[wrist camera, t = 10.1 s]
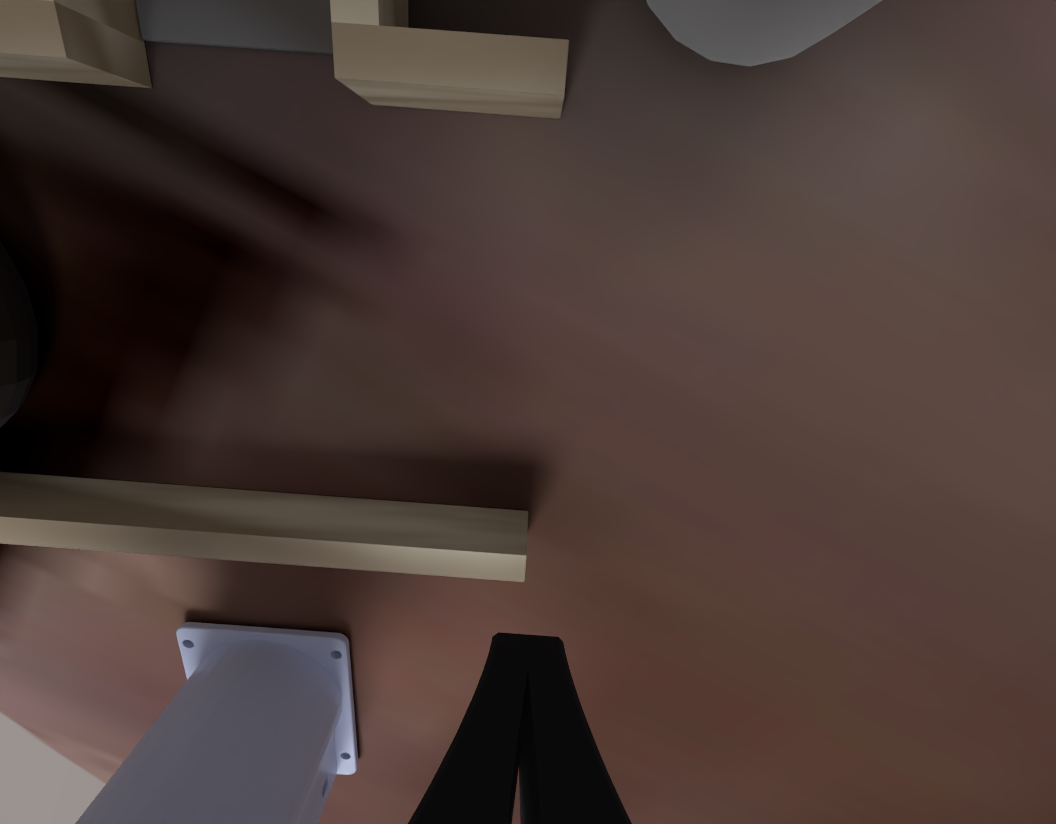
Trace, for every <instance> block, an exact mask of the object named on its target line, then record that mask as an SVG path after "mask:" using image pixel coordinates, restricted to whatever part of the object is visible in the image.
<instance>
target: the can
mask: <svg viewBox="0 0 1056 824" xmlns="http://www.w3.org/2000/svg"><path fill="white" fill-rule="evenodd" d="M646 1H647V4H648V6H649V7H650V9H651V10H652V11H653V12H654V14H655V15H656V16H657V17H658V19H659V20H660V21H661V22H662V24H663V25H664V26H665V27H666V29H667V30H668V31H669V32H670V34H671V35H672V36H673V37H674V39H675V40H676V41H678V42H680V43H681V44H683V45H685V46H686V47H688V48H690V49H692V50H693V51H695V52H697V53H698V54H700V55H702V56H703V57H705V58H707V59H708V60H710V61H716V62H723V63H729V64H736V65H743V66H749V67H751V66H755V65H760V64H764V63H769V62H773V61H778V60H783V59H787V58H792V57H793V56H795V55H797V54H798V53H800V52H802V51H804V50H805V49H807V48H809V47H810V46H812V45H814V44H816V43H817V42H819V41H821V40H822V39H824V38H826V37H827V36H829V35H831V34H833V33H834V32H836V31H837V30H839V29H840V28H842V27H843V26H845V25H846V24H848V23H849V22H851V21H852V20H854V19H855V18H857V17H858V16H860V15H861V14H863V13H864V12H866V11H867V10H869V9H870V8H872V7H873V6H875V5H876V4H878V3H879V2H881V1H882V0H646Z"/></svg>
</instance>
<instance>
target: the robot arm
mask: <svg viewBox="0 0 1056 824" xmlns="http://www.w3.org/2000/svg"><path fill="white" fill-rule="evenodd" d="M176 635H177V639H178V643H179V647H180V652H181V656H182V660H183V664H184V668H185V672H186V676H187V681H186V682H185V684H184V685H183V686H182V687H181V689H180V690H179V691H178V693H177V694H176V695H175V696H174V698H173V699H172V700H171V702H170V703H169V704H168V705H167V707H166V708H165V709H164V711H163V712H162V713H161V714H160V716H159V717H158V718H157V720H156V721H155V722H154V723H153V725H152V726H151V727H150V729H149V730H148V731H147V732H146V734H145V735H144V736H143V737H142V739H141V740H140V741H139V743H138V744H137V745H136V746H135V748H134V749H133V750H132V752H131V753H130V754H129V755H128V757H127V758H126V759H125V761H124V762H123V763H122V764H121V766H120V767H119V768H118V770H117V771H116V772H115V773H114V775H113V776H112V777H111V779H110V780H109V781H108V782H107V784H106V785H105V786H104V787H103V789H102V790H101V791H100V793H99V794H98V795H97V796H96V798H95V799H94V800H93V802H92V803H91V804H90V805H89V807H88V808H87V809H86V811H85V812H84V813H83V814H82V816H81V817H80V818H79V820H78V821H77V822H76V823H75V824H318V822H319V819H320V816H321V814H322V811H323V808H324V806H325V803H326V800H327V797H328V795H329V792H330V789H331V787H332V784H333V781H334V779H335V776H336V774H345V775H350V774H353V773H355V772H356V770H357V767H358V751H357V738H356V725H355V713H354V700H353V688H352V675H351V663H350V650H349V641H348V638H347V637H346V636H345V635H343V634H341V633H333V632H320V631H306V630H293V629H279V628H266V627H252V626H239V625H225V624H212V623H198V622H185V623H183V624H182V625H181V626H180V627H179V628H178V629H177V631H176ZM337 651H339V652H337ZM518 768H519V786H520V818H521V824H632V823H631V821H630V819H629V817H628V815H627V813H626V811H625V809H624V807H623V805H622V803H621V800H620V798H619V796H618V794H617V792H616V789H615V787H614V785H613V783H612V781H611V778H610V776H609V774H608V772H607V769H606V767H605V765H604V762H603V760H602V758H601V755H600V753H599V751H598V748H597V745H596V743H595V740H594V738H593V735H592V733H591V730H590V728H589V725H588V723H587V720H586V718H585V715H584V712H583V709H582V707H581V704H580V701H579V698H578V695H577V692H576V689H575V686H574V683H573V679H572V676H571V673H570V669H569V666H568V662H567V658H566V654H565V649H564V644H563V641H562V640H561V639H560V638H559V637H551V636H538V635H524V634H511V633H497V634H496V635H494V636H493V637H492V642H491V647H490V651H489V654H488V657H487V661H486V664H485V667H484V670H483V672H482V675H481V678H480V680H479V683H478V686H477V688H476V691H475V693H474V696H473V698H472V700H471V702H470V705H469V707H468V709H467V711H466V714H465V716H464V718H463V720H462V722H461V725H460V727H459V729H458V731H457V733H456V735H455V738H454V740H453V742H452V744H451V745H450V747H449V749H448V751H447V753H446V755H445V757H444V759H443V761H442V763H441V765H440V767H439V769H438V771H437V773H436V774H435V776H434V778H433V780H432V782H431V784H430V786H429V788H428V789H427V791H426V793H425V795H424V797H423V798H422V800H421V802H420V804H419V805H418V807H417V809H416V811H415V812H414V814H413V816H412V817H411V819H410V821H409V823H408V824H512V816H513V808H514V800H515V792H516V784H517V776H518Z"/></svg>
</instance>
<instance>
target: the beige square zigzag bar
mask: <svg viewBox="0 0 1056 824" xmlns="http://www.w3.org/2000/svg"><path fill="white" fill-rule="evenodd" d="M144 40H146V41H151V42H165V43H178V44H191V45H205V46H218V47H231V48H245V49H258V50H272V51H285V52H298V53H312V54H325V55H333V58H334V74H335V78H336V79H337V80H338V81H340V82H341V83H342V84H344V85H345V86H347V87H348V88H349V89H351V90H352V91H354V92H355V93H356V94H358V95H359V96H361V97H362V98H363V99H365V100H366V101H368V102H369V103H370V104H372V105H383V106H396V107H410V108H423V109H436V110H450V111H463V112H477V113H490V114H503V115H517V116H530V117H543V118H557V119H560V117H561V112H562V106H563V100H564V94H565V82H566V70H567V58H568V46H569V40H566V39H552V38H539V37H526V36H512V35H499V34H486V33H472V32H459V31H446V30H432V29H419V28H409V27H408V0H0V77H9V78H22V79H36V80H49V81H62V82H76V83H89V84H102V85H116V86H129V87H142V88H152V84H151V78H150V73H149V67H148V61H147V56H146V50H145V44H144ZM527 531H528V511H522V510H508V509H495V508H481V507H468V506H454V505H441V504H427V503H414V502H400V501H387V500H373V499H360V498H346V497H333V496H319V495H306V494H292V493H279V492H266V491H252V490H239V489H225V488H212V487H198V486H185V485H171V484H158V483H144V482H131V481H117V480H104V479H90V478H77V477H63V476H50V475H36V474H23V473H9V472H0V543H3V544H17V545H30V546H44V547H57V548H71V549H84V550H98V551H111V552H125V553H138V554H152V555H165V556H179V557H192V558H206V559H219V560H233V561H246V562H260V563H273V564H287V565H300V566H314V567H327V568H341V569H354V570H368V571H381V572H395V573H408V574H422V575H435V576H449V577H463V578H476V579H490V580H503V581H517V582H524V578H525V566H526V553H527Z"/></svg>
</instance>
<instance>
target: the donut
mask: <svg viewBox="0 0 1056 824" xmlns="http://www.w3.org/2000/svg"><path fill="white" fill-rule="evenodd" d="M37 345H38V326H37V322H36V319H35V315H34V312H33V308H32V305H31V301H30V298H29V294H28V291H27V287H26V285H25V283H24V281H23V280H22V278H21V276H20V274H19V272H18V271H17V269H16V267H15V265H14V264H13V262H12V260H11V258H10V256H9V255H8V253H7V251H6V249H5V248H4V246H3V244H2V243H1V242H0V428H1V427H2V426H3V425H4V424H5V423H6V422H7V421H8V420H9V419H10V418H11V417H12V416H13V415H14V414H15V413H16V412H17V411H18V409H19V408H20V407H21V406H22V404H23V403H24V402H25V400H26V397H27V395H28V392H29V390H30V387H31V385H32V382H33V380H34V377H35V374H36V372H37Z"/></svg>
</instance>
